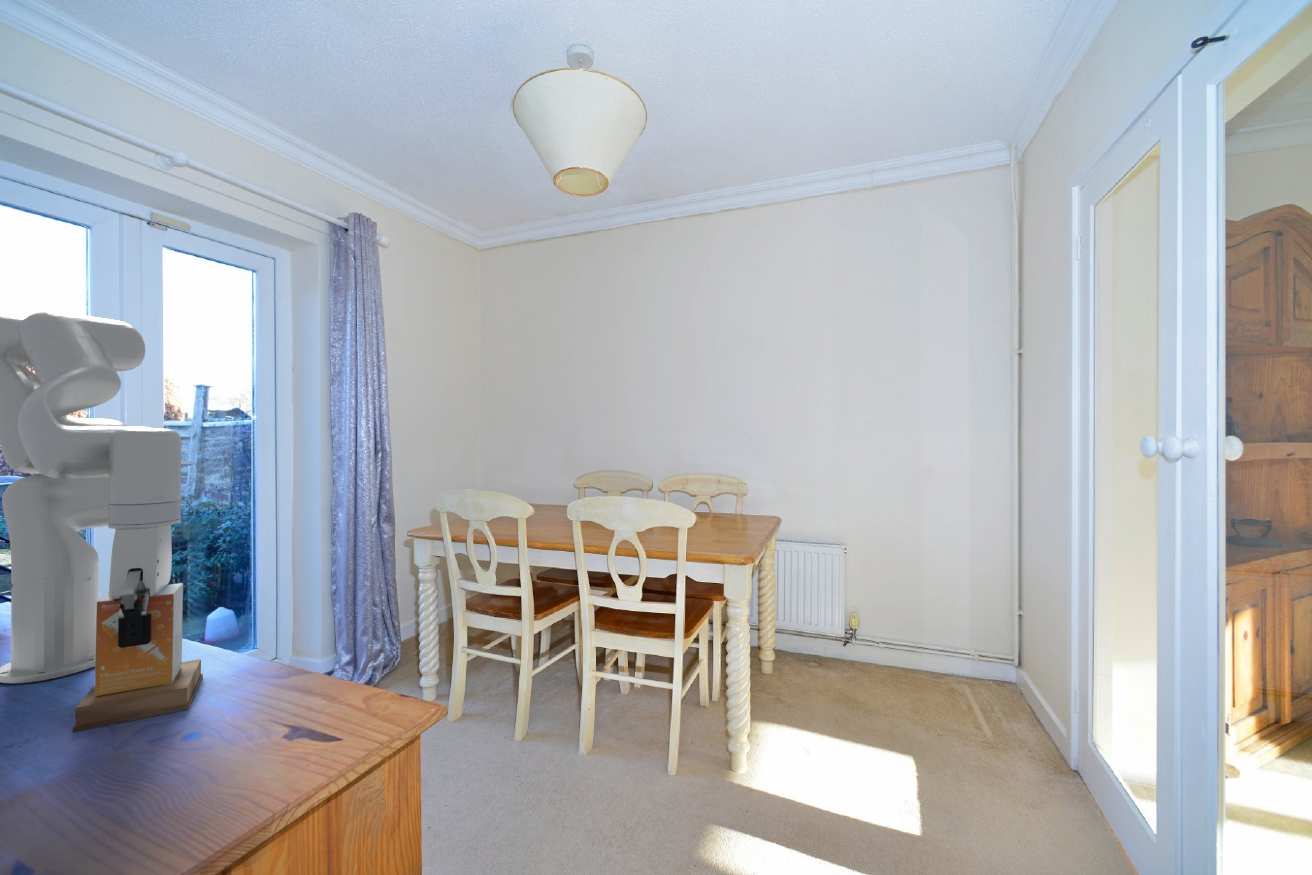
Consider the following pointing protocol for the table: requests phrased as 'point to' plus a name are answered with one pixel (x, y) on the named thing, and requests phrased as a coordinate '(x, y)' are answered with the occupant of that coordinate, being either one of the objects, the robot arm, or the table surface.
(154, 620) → the small box
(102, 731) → the table surface
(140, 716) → the plinth
